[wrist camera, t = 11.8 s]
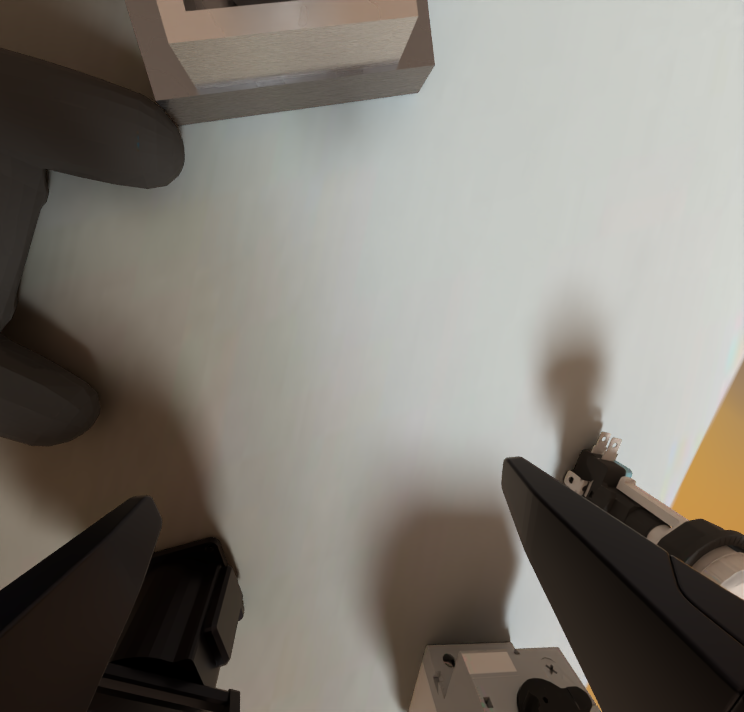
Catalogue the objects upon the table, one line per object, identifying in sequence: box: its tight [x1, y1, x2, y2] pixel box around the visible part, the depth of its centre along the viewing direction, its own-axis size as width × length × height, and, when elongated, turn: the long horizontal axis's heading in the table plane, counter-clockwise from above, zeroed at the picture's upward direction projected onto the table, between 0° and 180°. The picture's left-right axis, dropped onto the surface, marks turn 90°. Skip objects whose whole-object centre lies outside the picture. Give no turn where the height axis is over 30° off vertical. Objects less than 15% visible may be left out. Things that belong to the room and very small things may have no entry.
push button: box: [564, 432, 744, 600], centre depth 21 cm, size 7×5×10 cm
